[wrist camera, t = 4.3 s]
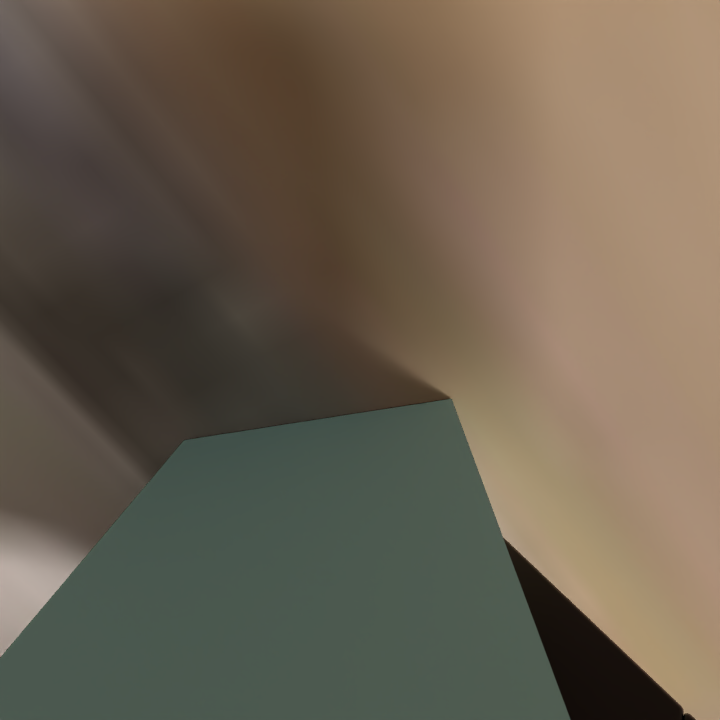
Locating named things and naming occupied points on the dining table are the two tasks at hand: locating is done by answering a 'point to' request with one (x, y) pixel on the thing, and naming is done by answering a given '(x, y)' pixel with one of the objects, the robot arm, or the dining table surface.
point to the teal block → (295, 588)
